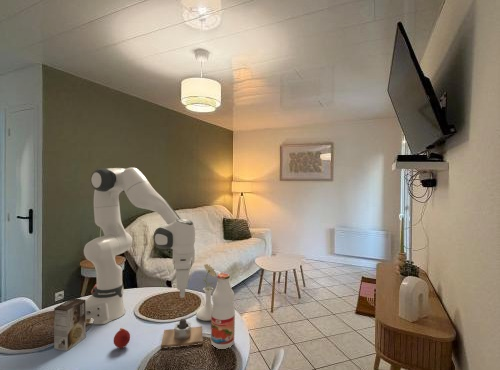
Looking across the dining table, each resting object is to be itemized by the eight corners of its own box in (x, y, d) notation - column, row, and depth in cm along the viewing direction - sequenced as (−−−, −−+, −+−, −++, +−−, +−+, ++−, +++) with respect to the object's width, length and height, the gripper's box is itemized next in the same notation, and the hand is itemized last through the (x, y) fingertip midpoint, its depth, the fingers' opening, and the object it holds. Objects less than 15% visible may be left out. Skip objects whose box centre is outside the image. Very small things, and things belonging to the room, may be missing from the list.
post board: (160, 350, 103) (161, 327, 103) (164, 334, 114) (164, 314, 114) (202, 345, 107) (202, 324, 106) (202, 330, 117) (202, 310, 117)
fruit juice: (238, 340, 110) (239, 272, 110) (227, 353, 101) (228, 280, 101) (218, 334, 114) (219, 269, 114) (206, 346, 105) (207, 276, 105)
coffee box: (72, 335, 112) (72, 297, 111) (86, 337, 110) (86, 299, 110) (53, 349, 103) (53, 307, 102) (67, 351, 101) (67, 309, 101)
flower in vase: (222, 320, 125) (223, 267, 125) (198, 325, 121) (199, 270, 121) (215, 308, 137) (216, 260, 137) (193, 312, 133) (194, 262, 133)
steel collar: (174, 340, 107) (174, 330, 106) (175, 331, 113) (175, 322, 113) (190, 339, 108) (190, 329, 108) (190, 330, 114) (190, 321, 114)
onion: (125, 341, 108) (125, 322, 108) (132, 347, 104) (133, 327, 104) (110, 348, 103) (111, 328, 103) (117, 354, 100) (118, 333, 100)
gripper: (177, 252, 120) (176, 282, 120) (173, 266, 99) (173, 303, 100) (191, 251, 121) (191, 281, 121) (191, 266, 101) (190, 302, 101)
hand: (183, 291), depth 110 cm, fingers open, 8 cm apart
